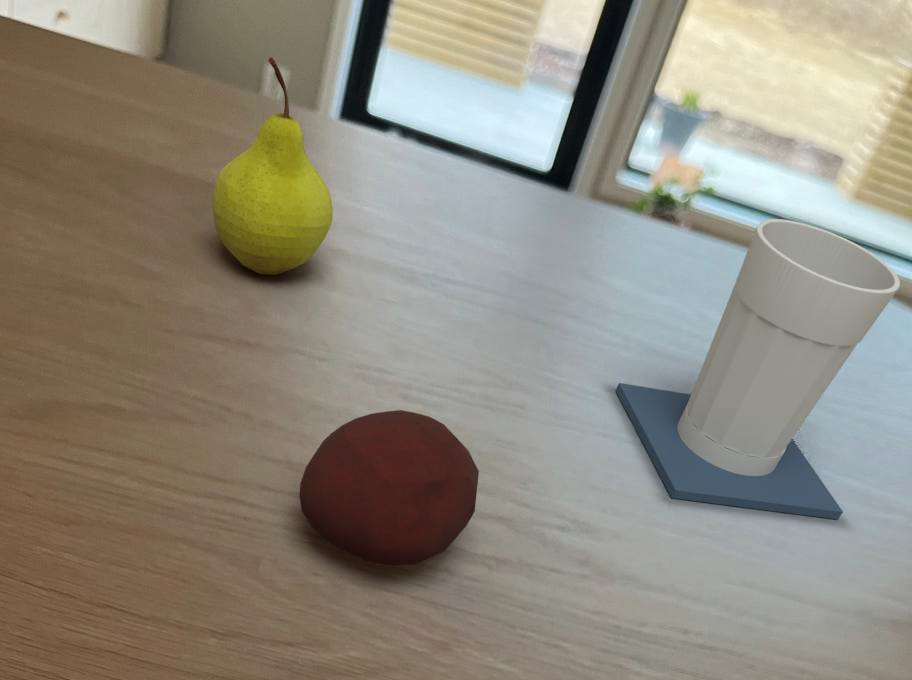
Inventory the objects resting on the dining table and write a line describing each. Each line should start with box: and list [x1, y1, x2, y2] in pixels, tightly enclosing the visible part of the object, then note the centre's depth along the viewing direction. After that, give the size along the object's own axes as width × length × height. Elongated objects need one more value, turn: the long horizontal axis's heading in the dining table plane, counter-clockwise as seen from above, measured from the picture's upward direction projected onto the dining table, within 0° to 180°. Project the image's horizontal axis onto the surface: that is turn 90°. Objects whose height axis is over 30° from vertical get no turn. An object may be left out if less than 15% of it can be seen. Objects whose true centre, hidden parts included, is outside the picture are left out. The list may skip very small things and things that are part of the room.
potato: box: [299, 409, 480, 567], centre depth 46 cm, size 7×8×6 cm
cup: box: [677, 218, 901, 476], centre depth 59 cm, size 8×8×12 cm
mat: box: [615, 382, 844, 520], centre depth 63 cm, size 11×11×1 cm
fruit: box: [212, 57, 334, 276], centre depth 61 cm, size 7×7×12 cm
